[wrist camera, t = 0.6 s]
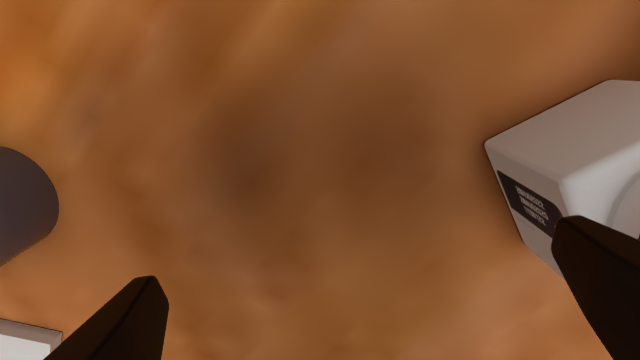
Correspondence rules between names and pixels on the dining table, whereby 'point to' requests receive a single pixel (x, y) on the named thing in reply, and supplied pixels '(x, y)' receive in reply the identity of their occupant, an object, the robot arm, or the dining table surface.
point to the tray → (26, 341)
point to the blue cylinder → (24, 204)
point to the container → (573, 165)
